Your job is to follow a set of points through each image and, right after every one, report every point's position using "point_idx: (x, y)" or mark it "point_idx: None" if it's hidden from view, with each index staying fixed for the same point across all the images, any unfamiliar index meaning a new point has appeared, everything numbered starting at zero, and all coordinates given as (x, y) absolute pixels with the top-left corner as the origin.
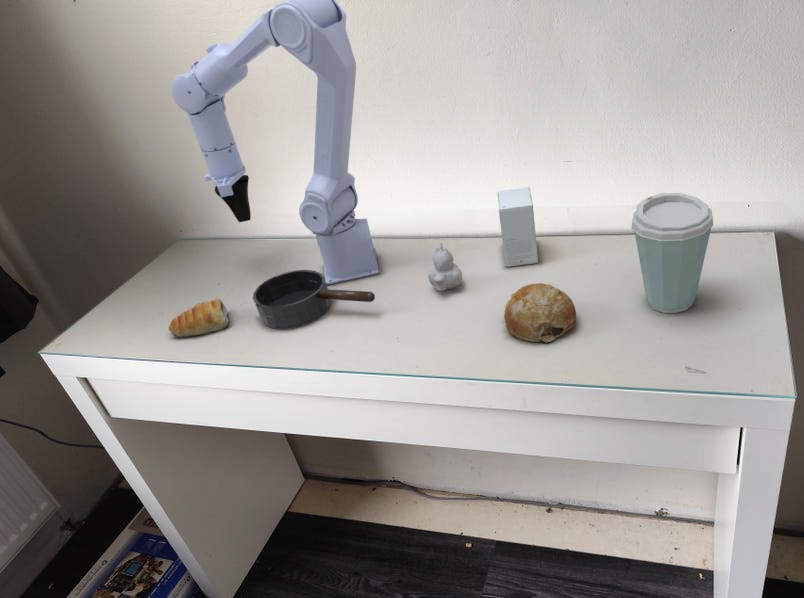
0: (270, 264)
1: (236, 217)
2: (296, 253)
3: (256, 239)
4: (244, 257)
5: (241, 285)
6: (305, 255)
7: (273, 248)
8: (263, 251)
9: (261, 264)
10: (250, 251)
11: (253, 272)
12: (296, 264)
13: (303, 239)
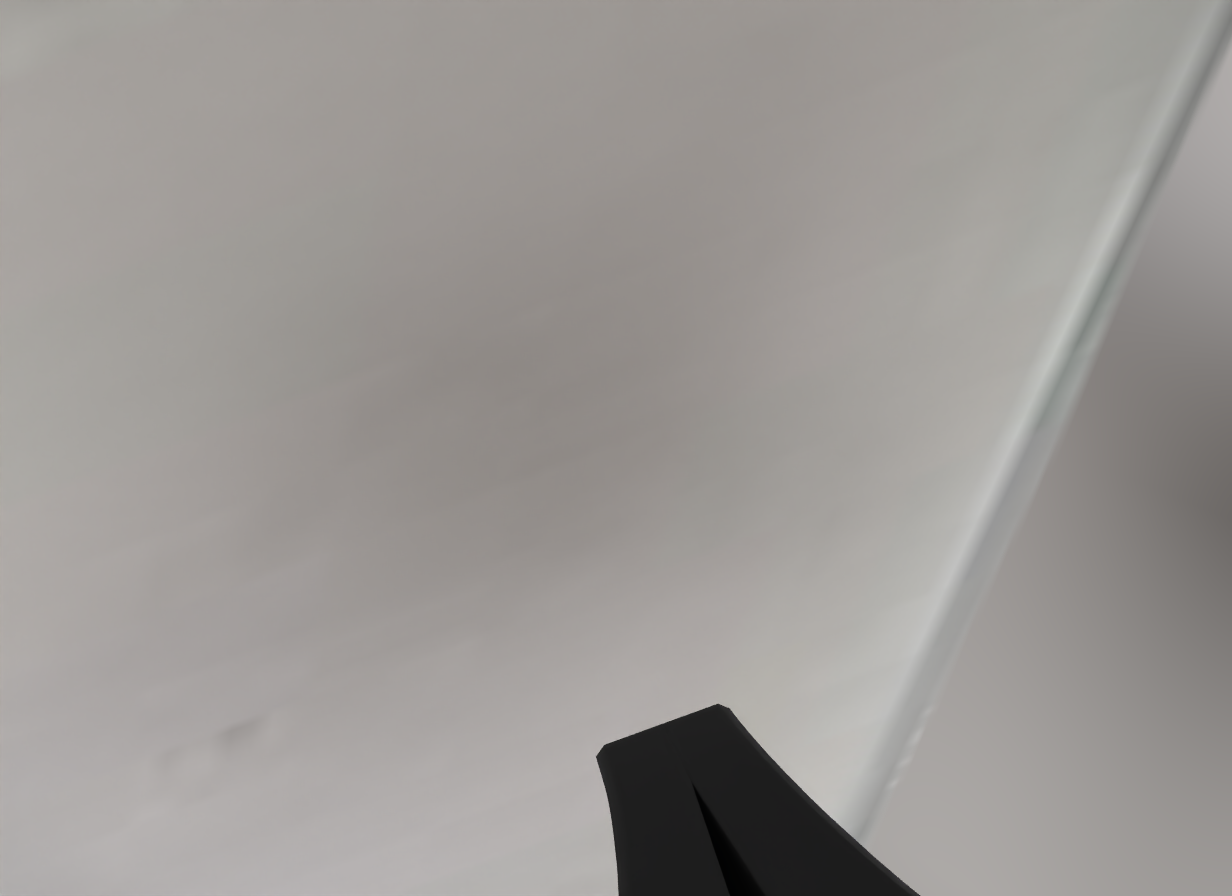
0: (509, 467)
1: (612, 823)
2: (683, 626)
3: (1190, 66)
4: (773, 77)
5: (21, 323)
6: (617, 716)
7: (877, 359)
8: (847, 271)
9: (532, 367)
10: (907, 102)
11: (350, 347)
12: (453, 710)
13: (950, 581)
